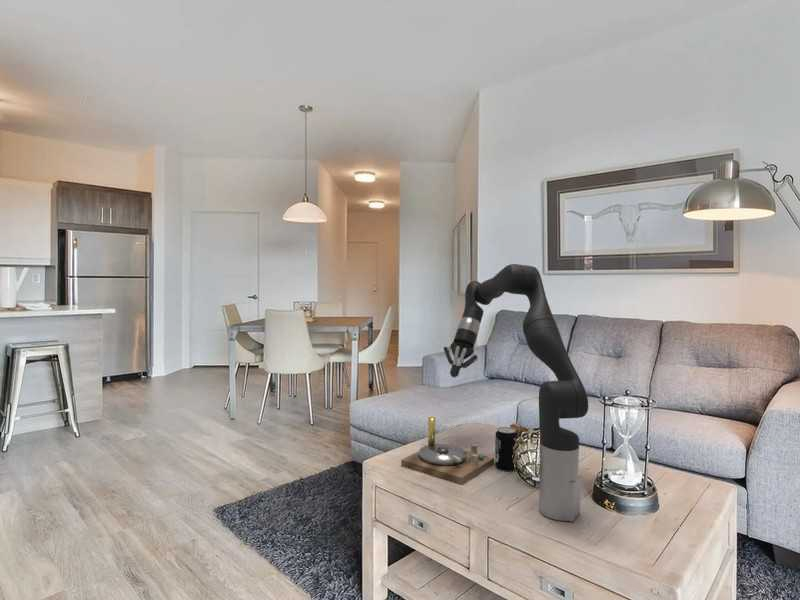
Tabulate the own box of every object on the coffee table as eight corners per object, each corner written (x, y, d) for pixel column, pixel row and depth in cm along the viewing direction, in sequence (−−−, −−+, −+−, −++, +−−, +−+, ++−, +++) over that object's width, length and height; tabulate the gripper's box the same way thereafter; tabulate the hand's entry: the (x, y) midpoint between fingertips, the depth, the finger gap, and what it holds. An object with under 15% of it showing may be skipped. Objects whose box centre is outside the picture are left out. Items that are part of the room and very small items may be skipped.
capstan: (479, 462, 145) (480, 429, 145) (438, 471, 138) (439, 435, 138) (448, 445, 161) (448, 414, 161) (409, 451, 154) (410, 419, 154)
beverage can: (511, 473, 143) (511, 434, 143) (491, 468, 147) (492, 430, 147) (519, 466, 148) (520, 429, 148) (500, 461, 152) (501, 425, 152)
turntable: (494, 464, 150) (494, 448, 150) (462, 484, 134) (462, 467, 134) (436, 448, 164) (436, 434, 164) (401, 465, 148) (401, 450, 148)
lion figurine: (508, 450, 163) (508, 424, 163) (509, 445, 168) (510, 420, 168) (552, 456, 158) (553, 429, 158) (552, 451, 163) (553, 425, 163)
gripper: (449, 323, 169) (434, 368, 162) (485, 332, 165) (471, 378, 158) (450, 331, 175) (436, 374, 169) (485, 340, 171) (472, 385, 165)
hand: (453, 376), depth 164 cm, fingers closed
